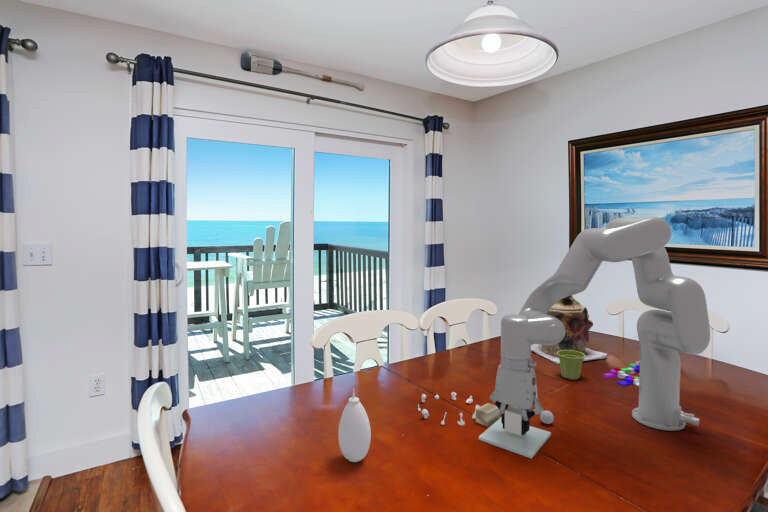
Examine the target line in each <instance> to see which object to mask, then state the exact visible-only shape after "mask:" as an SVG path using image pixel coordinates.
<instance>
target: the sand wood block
mask: <svg viewBox="0 0 768 512" xmlns="http://www.w3.org/2000/svg"><path fill="white" fill-rule="evenodd" d="M475 414H476V418H475V422H476V423H478V424H480V425H481V426H484V427H485V428H486V427H487V428H489V427H490V426H491V425H493V424H494V423H495V422H496V421H497V420H498V419H499V418H501V413H500V410H499V409H498V407H497V406H496V405H495V404H493V403H490V402H487V403H485V404H483V405H480V407H479V408H477V409H476V413H475Z"/></svg>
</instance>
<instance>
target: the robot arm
mask: <svg viewBox="0 0 768 512" xmlns="http://www.w3.org/2000/svg"><path fill="white" fill-rule="evenodd" d="M671 237H672V228H671V226H670V224H669V223H668V222H667V221H666V220H665V219H663V218H661V217H658V216H626V217H624V216H623V217H617V218H613V219H611V220H610V221H608V222H607V224H606V225H605V228H603V227H597V228H596V227H591V228H586V229H583V230H582V231H581V232H579V234H578V235H577V236H576V238H574V241H573V243H572V244H571V246H570V248H569V249H568V251H567V252H566V254H565V256H564V258H563V259H562V261H561V262H560V264H559V266H558V267H557V269H556V271H555V273H553V275H551V276H550V277H549V278H547V279H546V280H544V282H542V283H541V284H540V285H539V286H537V287H536V288H535V289H534V290H533V291H532V292H531V293H530V294H529V295H528V297H527V299H526V300H525V302H524V304H523V306H522V307H521V308H520V311H519V313H518V314H513V313H512V314H506V315H504V316H503V317H502V318H501V320H500V364H498V366H497V367H498V368H497V372H496V377H495V386H494V390H493V391H492V393H491V394H490V395H489V399H490V401H492V402H493V403H494V405H495V406H497V407H498V409H499V410H500V418H501V423H502V424H503V429H505V410H506V409H507V408H508V407H509V406H510V405H511V406H514V407H518V408H521V410H522V415H523V419H522V431H521V434H522V435H525V434H526V432H528V431H529V429H530V426H531V425H530V423H531V422H530V420H531V418H533V417H535V416H537V415H540V414H541V413H542V411H544V408H543V406H542V405H541V403H540V401H539V399H538V386H537V384H538V383H537V382H538V381H537V376H536V373H535V371H536V370H535V368H536V367H537V362H536V361H533V358H532V351H531V345H533V344H541V345H553V344H557V343H559V342H560V341H561V340H562V339H563V338H564V336H565V327H564V325H563V323H562V322H561V321H560V320H559V319H557V318H555V317H553V316H551V315H548V314H547V313H548V311H549V310H550V308H551V307H552V306H553V305H554V304H555V303H556V302H558V301H559V300H561V299H563V298H565V297H568V296H571V295H572V296H574V295H577V294H580V293H583V292H584V291H585V290H586V289H587V288H588V287H589V284H590V283H591V282H592V279H593V278H594V276H595V275H596V273H597V271H598V270H599V267H600V266H601V264H602V263H603V262H606V263H607V262H608V263H609V262H610V263H620V262H625V261H629V260H631V262H632V267H633V272H634V279H635V283H636V284H635V286H636V290H637V296H638V300H640V302H641V303H642V304H644V305H645V306H648V307H651V308H653V309H649V310H645V311H644V312H643V313H641V314H640V316H639V317H638V319H637V323H636V332H637V337H638V343H639V361H640V376H638V377H639V386H638V407H635V408H633V409H632V411H631V416H632V418H633V419H634V420H635V421H636V422H638V423H640V424H642V425H644V426H646V427H649V428H653V429H656V430H661V431H670V432H672V431H673V432H675V431H676V432H677V431H682V430H683V429H685V428H686V423H689V424H690V425H695V426H700V425H699V424H700V418H699V417H695V414H693V413H689V412H688V413H687V412H684V411H683V410H682V406H681V405H680V390H681V370H682V369H681V368H682V363H681V362H682V361H681V357H680V354H679V353H683V354H686V355H699V354H702V353H703V352H704V351H706V350H707V348H708V346H709V344H710V340H711V327H710V320H709V318H710V317H709V313H708V312H709V311H708V305H707V298H706V294H705V291H704V289H703V287H702V286H701V285H700V283H699V282H698V281H696V280H694V279H692V278H690V277H685V276H680V275H675V274H674V273H673V271H672V268H671V263H670V257H669V254H668V252H667V249H666V248H665V247H666V246H667V245H668V243H669V242H670V239H671ZM654 308H655V309H654ZM533 407H534V408H533ZM530 409H531V410H530Z"/></svg>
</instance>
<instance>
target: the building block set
mask: <svg viewBox="0 0 768 512" xmlns="http://www.w3.org/2000/svg"><path fill="white" fill-rule="evenodd" d="M639 376H640V360H638V361H635V363H633V362H632V363H628V367H621V368H620V367H614V368H612V369H610V371H609V372H608V373H603V374H602V377H603V378H605V379H608V380H609V379H616V378H619V379H624V380H620V381H616V384H617V385H619V386H622V387H627V386H631V385H634V386H636V387H639Z"/></svg>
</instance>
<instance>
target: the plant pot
mask: <svg viewBox="0 0 768 512" xmlns="http://www.w3.org/2000/svg"><path fill="white" fill-rule="evenodd" d="M557 354H558V357H559V360H560V364H559V367H560V374H561V375H560V376H561V377H563V379H568V380H579V379H580V378H581V377H580V376H581V372H582V366H583V362H584V361H583V360H584V358H585V354H583V353H581V352H578V351H573V350H560V351H558V352H557Z"/></svg>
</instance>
